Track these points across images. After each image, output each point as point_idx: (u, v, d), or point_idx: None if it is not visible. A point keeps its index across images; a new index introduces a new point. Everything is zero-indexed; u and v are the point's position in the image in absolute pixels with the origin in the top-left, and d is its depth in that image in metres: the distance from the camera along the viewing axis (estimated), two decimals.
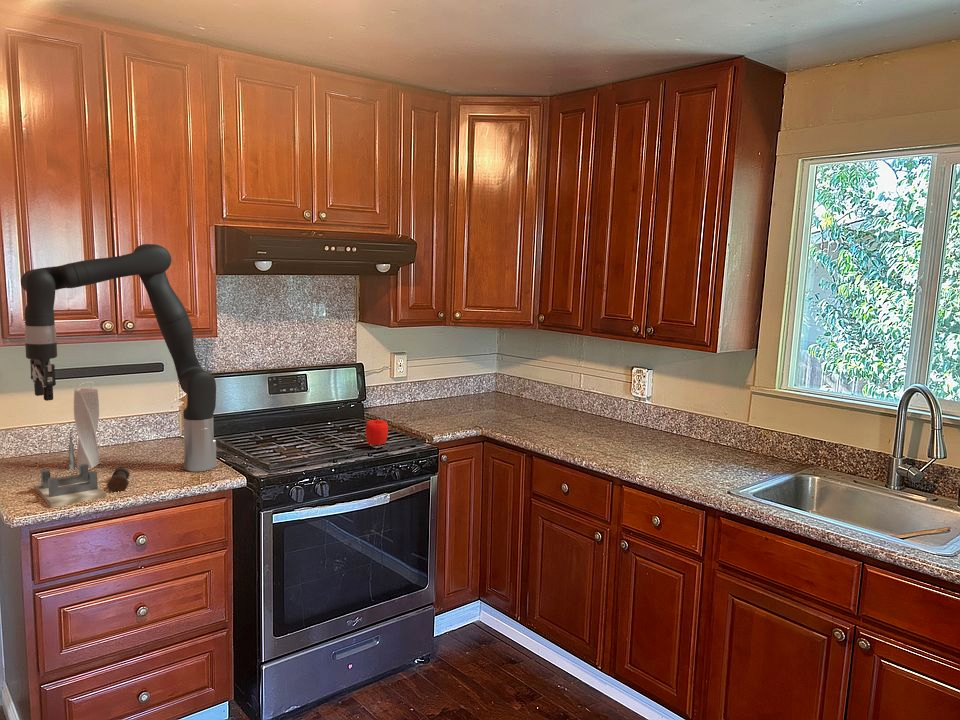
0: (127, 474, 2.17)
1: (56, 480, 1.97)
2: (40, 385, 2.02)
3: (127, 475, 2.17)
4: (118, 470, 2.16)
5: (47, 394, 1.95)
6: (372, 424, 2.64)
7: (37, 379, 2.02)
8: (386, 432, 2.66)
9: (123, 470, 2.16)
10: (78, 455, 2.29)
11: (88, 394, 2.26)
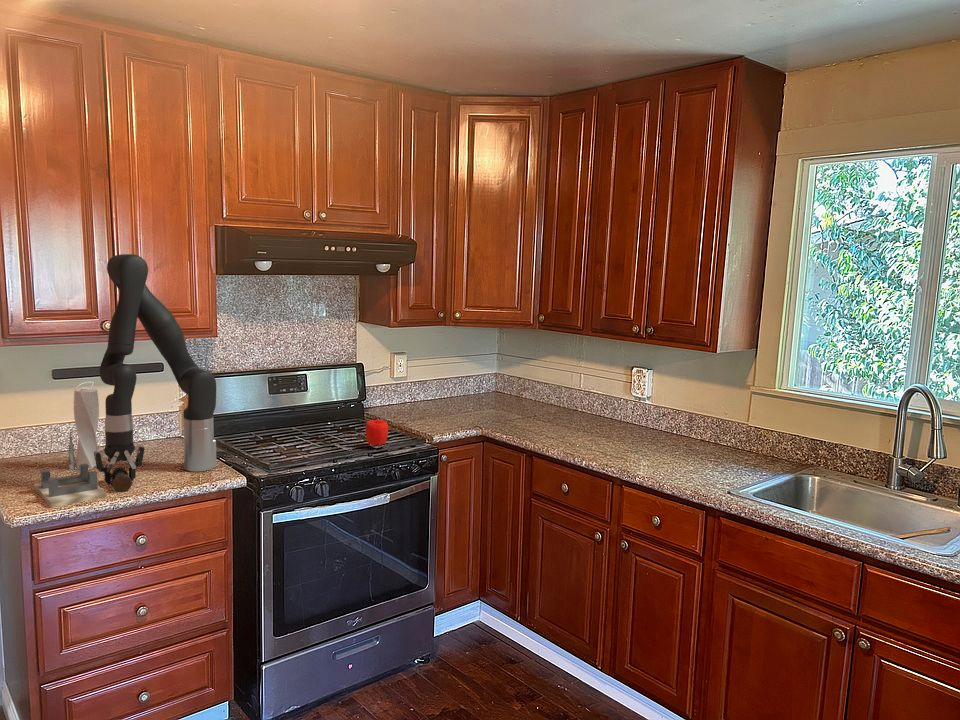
0: (126, 474, 2.17)
1: (56, 480, 1.97)
2: None
3: (126, 475, 2.17)
4: (117, 470, 2.15)
5: None
6: (372, 424, 2.64)
7: None
8: (386, 432, 2.66)
9: (122, 470, 2.16)
10: (78, 455, 2.29)
11: (88, 394, 2.26)
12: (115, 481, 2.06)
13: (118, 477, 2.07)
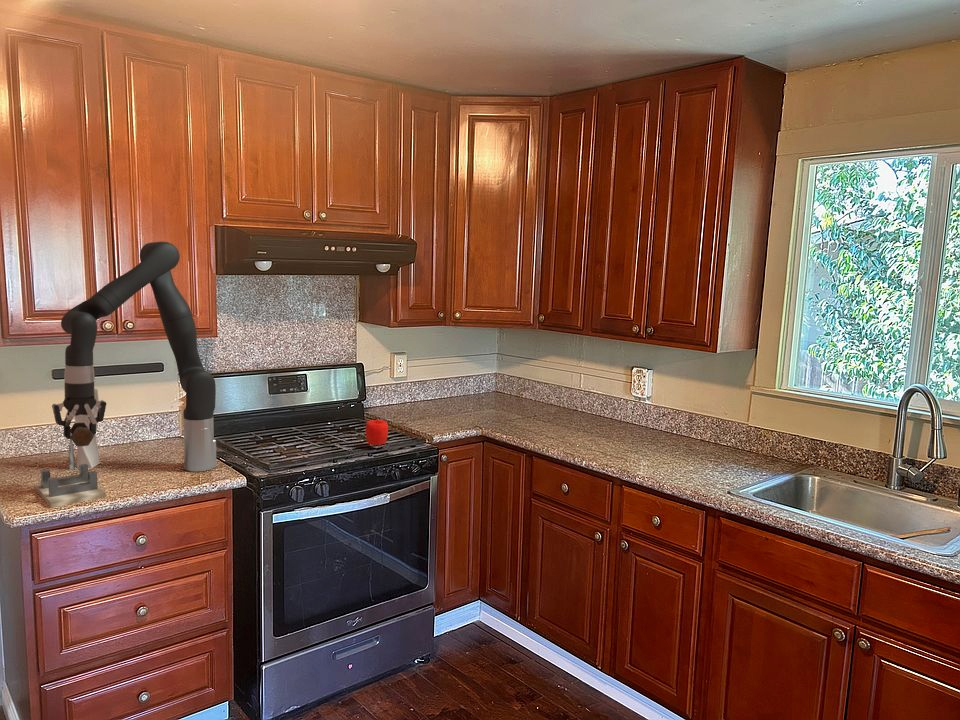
0: None
1: (56, 480, 1.97)
2: None
3: None
4: (77, 425, 2.06)
5: None
6: (372, 424, 2.64)
7: None
8: (386, 432, 2.66)
9: (82, 425, 2.07)
10: (78, 455, 2.29)
11: None
12: (75, 434, 1.97)
13: (78, 430, 1.98)
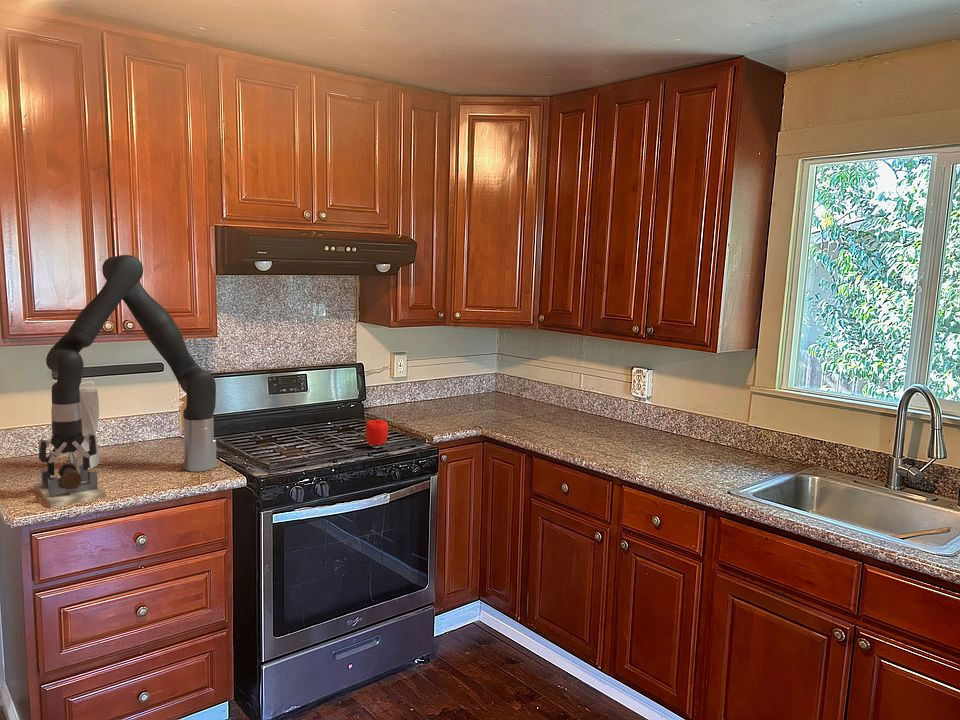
0: (75, 470, 2.07)
1: (56, 480, 1.97)
2: None
3: None
4: (65, 466, 2.05)
5: None
6: (372, 424, 2.64)
7: None
8: (386, 432, 2.66)
9: (71, 466, 2.06)
10: (78, 455, 2.29)
11: (88, 394, 2.26)
12: (64, 477, 1.97)
13: (67, 473, 1.97)
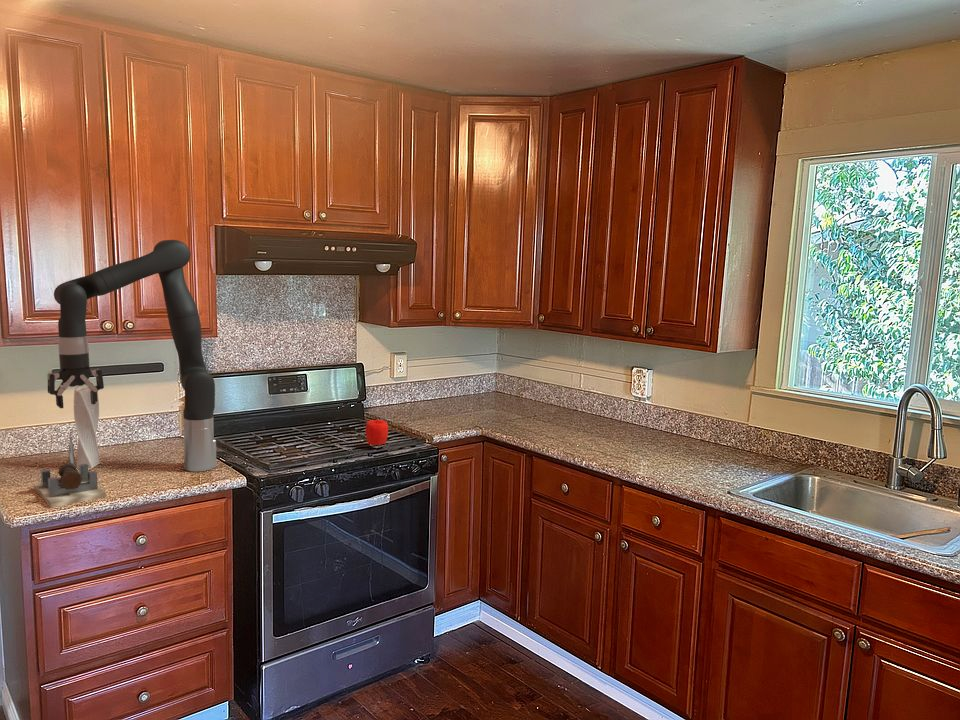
0: (75, 470, 2.07)
1: (56, 480, 1.97)
2: None
3: None
4: (65, 466, 2.05)
5: None
6: (372, 424, 2.64)
7: None
8: (386, 432, 2.66)
9: (71, 466, 2.06)
10: (78, 455, 2.29)
11: (88, 394, 2.26)
12: (64, 477, 1.97)
13: (67, 473, 1.97)
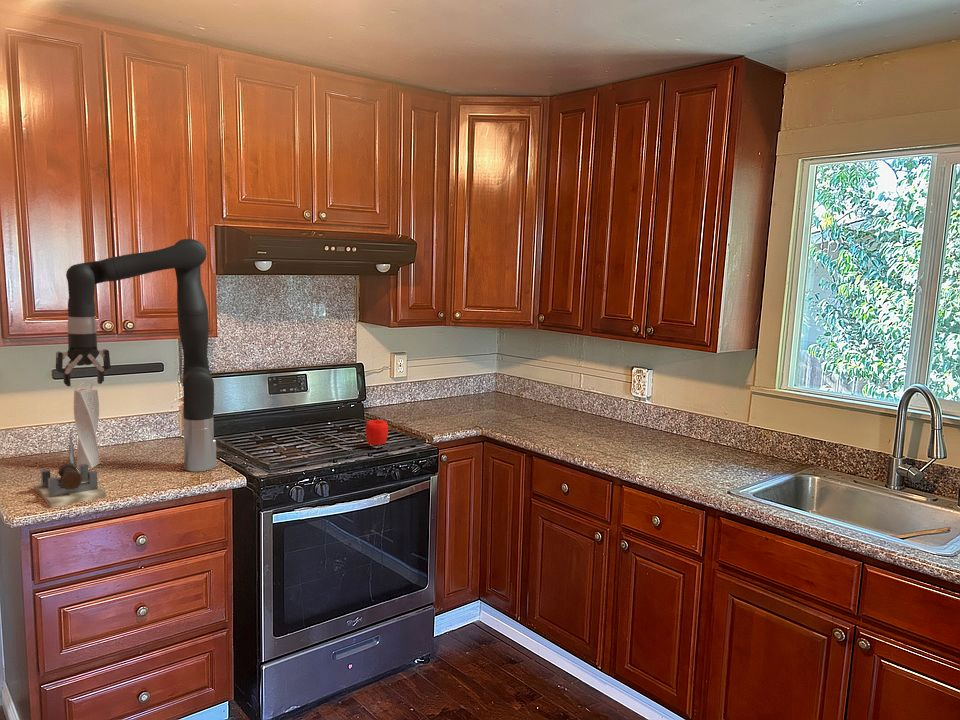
0: (75, 470, 2.07)
1: (56, 480, 1.97)
2: None
3: None
4: (65, 466, 2.05)
5: None
6: (372, 424, 2.64)
7: None
8: (386, 432, 2.66)
9: (71, 466, 2.06)
10: (78, 455, 2.29)
11: (88, 394, 2.26)
12: (64, 477, 1.97)
13: (67, 473, 1.97)
